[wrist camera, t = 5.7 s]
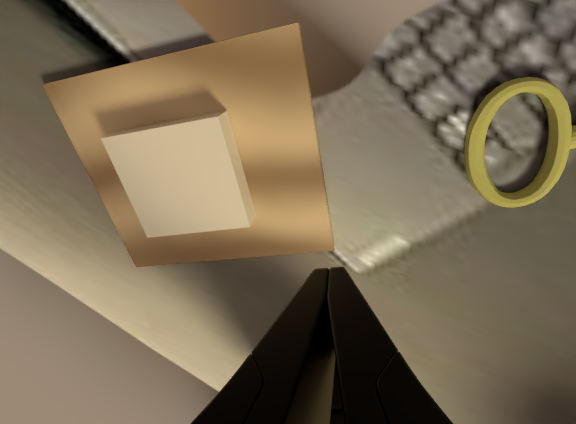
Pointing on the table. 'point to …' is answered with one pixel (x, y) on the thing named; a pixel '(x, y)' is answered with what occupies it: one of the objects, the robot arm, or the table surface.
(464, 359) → the table surface
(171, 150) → the tile
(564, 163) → the key
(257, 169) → the mat
